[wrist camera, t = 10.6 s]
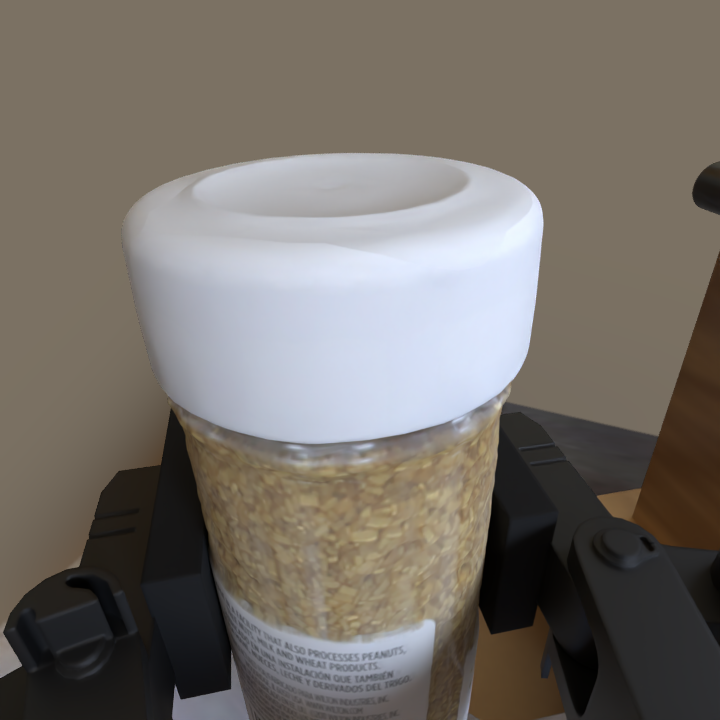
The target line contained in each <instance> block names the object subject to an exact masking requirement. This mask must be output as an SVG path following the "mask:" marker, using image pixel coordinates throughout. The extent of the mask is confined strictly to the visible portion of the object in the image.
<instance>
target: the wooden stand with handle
mask: <svg viewBox="0 0 720 720" xmlns="http://www.w3.org/2000/svg"><path fill="white" fill-rule="evenodd" d="M692 195H693V200H694V202H695V204H696V205H697V206H698V207H700V208H702V209H705V210H708V211H710V212H713V213H716V214H719V215H720V162H716V163H713V164H711V165H710V166H708V167H707V168H706V169H704V170H703V171H702V172H701V174H700V175H699V176H698V178H697V180H696V182H695V184H694V187H693V192H692ZM597 497H598V499H599V500H600V501H601V502H602V504H603V505H604V506H605V508H606V509H607V510H608V511H609V513H610V514H611V515H612V516H613V517H617V518H622V519H625V520H627V521H630V522H632V523H634V524H637V525H639V526H640V527H642V528H643V529H645V530H646V531H648V532H649V533H650V534H652V535H653V536H654V537H655V538H656V539H657V540H658V542H659V543H660V544H664V545H670V546H677V547H687V548H697V549H707V550H717V551H719V549H720V252H719V255H718V258H717V261H716V264H715V267H714V270H713V273H712V276H711V279H710V282H709V285H708V288H707V291H706V294H705V297H704V300H703V304H702V307H701V309H700V313H699V315H698V318H697V321H696V324H695V327H694V330H693V334H692V337H691V340H690V343H689V346H688V349H687V352H686V355H685V358H684V361H683V364H682V367H681V370H680V373H679V377H678V379H677V382H676V385H675V388H674V391H673V394H672V397H671V400H670V403H669V406H668V410H667V412H666V416H665V419H664V421H663V424H662V428H661V431H660V434H659V437H658V440H657V443H656V446H655V449H654V452H653V455H652V458H651V461H650V464H649V467H648V470H647V473H646V476H645V479H644V482H643V485H642V488H638V489H632V490H627V491H621V492H616V493H610V494H605V495H599V496H597ZM478 609H479V636H478V644H477V651H476V658H475V666H474V675H473V682H472V690H471V697H470V704H469V710H468V717H467V720H567V718H566V714H565V711H564V707H563V703H562V700H561V696H560V693H559V689H558V686H557V682H556V678H555V675H554V671H553V668H552V665H551V669H550V672H549V676H548V678H541V668H540V664H541V660H542V656H543V652H544V648H545V644H546V640H547V636H548V632H549V629H550V627H549V625H548V623H547V621H546V619H545V617H544V615H543V613H542V612H541V610H540V608H539V606H537V610H536V615H535V619H534V623H533V626H531V627H526V628H522V629H517V630H512V631H507V632H502V633H498V634H493V635H491V634H490V631H489V629H488V627H487V624H486V622H485V620H484V617H483V615H482V613H481V610H480V608H479V606H478Z"/></svg>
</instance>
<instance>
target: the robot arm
mask: <svg viewBox="0 0 720 720" xmlns="http://www.w3.org/2000/svg"><path fill="white" fill-rule="evenodd" d="M497 453H498V456H497V464H496V470H495V482H494V487H493V492H492V502H491V515H490V522H489V528H488V536H487V543H486V554H485V563H484V568H483V578H482V585H481V588H480V596H479V605H478V606H479V608H480V610H481V613H482V615H483V617H484V620H485V622H486V624H487V627H488V629H489V631H490V634H491V635H493V634H498V633H502V632H507V631H512V630H517V629H522V628H526V627H531V626H533V623H534V619H535V615H536V610H537V606H539V608H540V610H541V612H542V613H543V615H544V617H545V619H546V621H547V623H548V625H549V627H550V629H549V632H548V636H547V640H546V644H545V648H544V652H543V656H542V660H541V664H540V668H541V678H548V676H549V672H550V669H551V665H552V668H553V671H554V675H555V678H556V682H557V686H558V689H559V693H560V696H561V700H562V703H563V707H564V711H565V714H566V718H567V720H720V549H719V551H717V550H707V549H697V548H687V547H677V546H670V545H664V544H660V543H659V542H658V540H657V539H656V538H655V537H654V536H653V535H652V534H650V533H649V532H648V531H646V530H645V529H643V528H642V527H640V526H639V525H637V524H634V523H632V522H630V521H627V520H625V519H622V518H617V517H613V516H612V515H611V514H610V513H609V511H608V510H607V509H606V508H605V506H604V505H603V504H602V502H601V501H600V500H599V499H598V497H597V496H596V495H595V494H594V492H593V491H592V490H591V489H590V487H589V486H588V485H587V483H586V482H585V481H584V480H583V478H582V477H581V476H580V475H579V473H578V472H577V471H576V470H575V468H574V467H573V466H572V464H571V463H570V462H569V461H566V457H565V456H564V454H563V453H562V452H561V450H560V449H559V448H558V447H557V446H556V447H555V443H554V442H553V440H552V439H551V438H550V437H549V435H548V434H547V433H546V431H545V430H544V429H543V428H542V426H541V425H539V424H538V423H536V422H534V421H533V420H531V419H530V418H528V417H527V416H525V415H524V414H522V413H521V412H517V413H510V414H503V415H500V418H499V443H498V448H497ZM3 633H4V635H5V637H6V638H7V640H8V642H9V644H10V645H11V647H12V649H13V650H14V652H15V654H16V655H17V657H18V659H19V660H20V662H21V664H22V665H23V666H21V667H20V668H18V669H16V670H14V671H13V672H11V673H9V674H7V675H5V676H4V677H2V678H0V720H173V719H172V709H173V698H174V688H175V685H176V687H177V690H178V693H179V696H180V699H186V698H191V697H195V696H200V695H205V694H210V693H215V692H219V691H224V690H229V689H231V646H230V642H229V638H228V634H227V630H226V626H225V622H224V617H223V613H222V609H221V605H220V601H219V597H218V593H217V589H216V585H215V581H214V577H213V573H212V569H211V565H210V561H209V554H208V531H207V528H206V525H205V521H204V517H203V513H202V507H201V502H200V500H199V497H198V492H197V484H196V480H195V476H194V473H193V469H192V465H191V461H190V458H189V455H188V451H187V446H186V435H185V432H184V430H183V427H182V426H181V425H180V423H179V421H178V419H177V417H176V415H175V413H174V411H173V410H172V408H171V411H170V417H169V422H168V428H167V434H166V440H165V445H164V451H163V457H162V463H161V465H158V466H152V467H144V468H137V469H130V470H123V471H119V472H118V473H117V474H116V475H115V476H114V478H113V479H112V480H111V481H110V482H109V484H108V485H107V486H106V487H105V489H104V490H103V491H102V492H101V495H100V498H99V502H98V505H97V509H96V512H95V520H93V522H92V525H91V529H90V532H89V539H88V540H87V542H86V546H85V549H84V552H83V556H82V559H81V563H80V566H79V567H77V568H71V569H66V570H64V571H62V572H60V573H58V574H56V575H53V576H51V577H49V578H47V579H45V580H44V581H42V582H41V583H40V584H38V585H37V586H36V587H35V588H33V589H32V590H30V591H29V592H28V593H27V594H25V595H24V597H23V598H22V599H21V600H20V602H19V603H18V604H17V605H16V607H15V608H14V609H13V610H12V612H11V613H10V615H9V618H8V621H7V624H6V626H5V629H4V632H3Z"/></svg>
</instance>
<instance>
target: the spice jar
mask: <svg viewBox="0 0 720 720" xmlns="http://www.w3.org/2000/svg"><path fill="white" fill-rule="evenodd" d="M121 234H122V235H121V236H122V248H123V252H124V257H125V261H126V266H127V270H128V275H129V280H130V284H131V289H132V293H133V298H134V303H135V307H136V312H137V316H138V320H139V324H140V327H141V331H142V335H143V338H144V342H145V346H146V350H147V353H148V357H149V361H150V364H151V367H152V371H153V373H154V375H155V377H156V379H157V381H158V383H159V385H160V386H161V388H162V389H163V390H164V391H165V392H166V393H167V395H168V398H167V401H168V404H169V405H170V407H171V408H172V410H173V411H174V413H175V415H176V417H177V419H178V421H179V423H180V425H181V426H182V427H183V430H184V432H185V435H186V446H187V451H188V455H189V458H190V461H191V465H192V469H193V473H194V476H195V480H196V484H197V492H198V497H199V500H200V502H201V507H202V513H203V517H204V521H205V525H206V528H207V531H208V554H209V561H210V565H211V569H212V573H213V577H214V581H215V585H216V589H217V593H218V597H219V601H220V605H221V609H222V613H223V617H224V622H225V626H226V630H227V634H228V638H229V642H230V646H231V650H232V653H233V657H234V661H235V665H236V669H237V673H238V677H239V681H240V685H241V689H242V693H243V696H244V700H245V704H246V708H247V711H248V715H249V719H250V720H467V717H468V710H469V704H470V697H471V690H472V682H473V675H474V666H475V658H476V651H477V644H478V636H479V609H478V605H479V596H480V588H481V585H482V578H483V568H484V563H485V554H486V543H487V536H488V528H489V522H490V515H491V502H492V492H493V487H494V482H495V470H496V464H497V456H498V453H497V448H498V443H499V418H500V414H501V410H502V405H503V404H504V403H505V401H506V400H507V398H508V396H509V394H510V391H511V385H512V381H513V379H514V378H515V376H516V375H517V373H518V372H519V370H520V369H521V367H522V365H523V362H524V360H525V358H526V356H527V353H528V348H529V344H530V337H531V329H532V322H533V315H534V309H535V302H536V294H537V284H538V274H539V264H540V255H541V244H542V234H543V215H542V209H541V205H540V203H539V201H538V199H537V197H536V196H535V195H534V193H533V192H532V191H531V190H530V189H529V188H527V187H526V186H525V185H524V184H522V183H521V182H519V181H518V180H516V179H514V178H513V177H511V176H508V175H506V174H503V173H501V172H498V171H495V170H494V169H491V168H488V167H484V166H480V165H475V164H472V163H467V162H461V161H456V160H450V159H444V158H438V157H429V156H419V155H405V154H385V153H328V154H311V155H297V156H287V157H276V158H268V159H261V160H255V161H249V162H242V163H235V164H231V165H226V166H222V167H218V168H213V169H209V170H204V171H201V172H198V173H194V174H191V175H187V176H184V177H181V178H178V179H176V180H173V181H170V182H168V183H165V184H163V185H160V186H159V187H157V188H156V189H154V190H152V191H150V192H149V193H147V194H146V195H144V196H143V197H141V198H140V199H139V200H137V201H136V202H135V203H134V205H133V206H132V207H131V209H130V210H129V212H128V213H127V215H126V216H125V217H124V221H123V225H122V229H121Z"/></svg>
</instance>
